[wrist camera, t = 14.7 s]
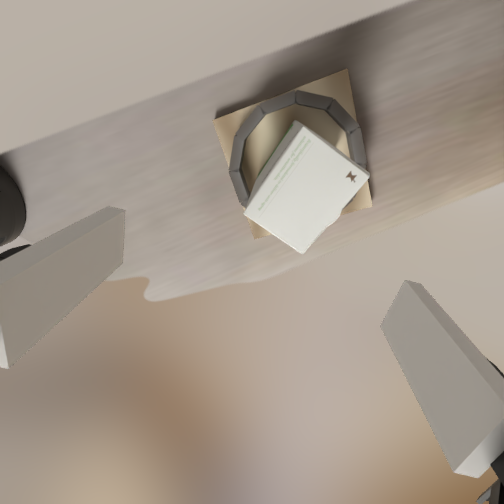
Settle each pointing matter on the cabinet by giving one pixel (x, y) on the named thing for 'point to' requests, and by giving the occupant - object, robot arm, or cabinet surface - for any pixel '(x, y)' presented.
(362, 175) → the skincare box
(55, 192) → the cabinet surface
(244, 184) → the collar
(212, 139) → the cabinet surface
